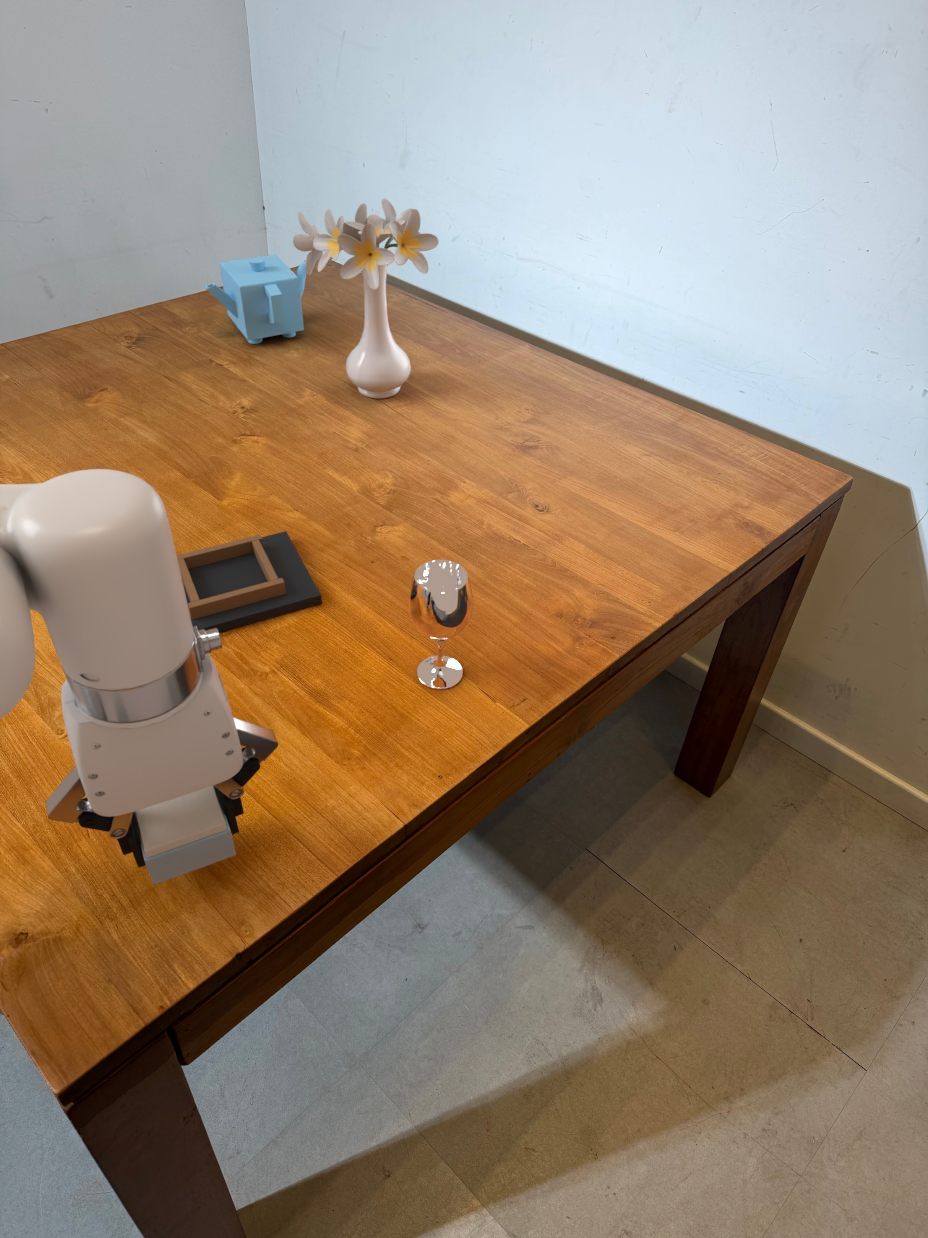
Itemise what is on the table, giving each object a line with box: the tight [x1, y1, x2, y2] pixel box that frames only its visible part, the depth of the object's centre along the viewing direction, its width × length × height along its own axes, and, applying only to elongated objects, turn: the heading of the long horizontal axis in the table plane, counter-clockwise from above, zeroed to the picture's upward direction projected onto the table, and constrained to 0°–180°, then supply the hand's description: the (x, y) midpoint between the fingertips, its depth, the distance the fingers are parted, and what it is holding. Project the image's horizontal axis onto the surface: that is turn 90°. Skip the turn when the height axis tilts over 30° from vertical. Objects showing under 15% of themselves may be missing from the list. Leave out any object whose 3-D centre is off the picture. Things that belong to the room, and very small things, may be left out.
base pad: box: [176, 530, 323, 634], centre depth 87 cm, size 16×12×3 cm
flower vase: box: [292, 197, 440, 400], centre depth 112 cm, size 13×18×25 cm
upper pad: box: [134, 785, 237, 886], centre depth 61 cm, size 6×6×4 cm
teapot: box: [204, 254, 308, 345], centre depth 130 cm, size 16×18×11 cm
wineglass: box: [407, 559, 474, 690], centre depth 76 cm, size 6×6×12 cm
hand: (185, 833), depth 62 cm, fingers closed on upper pad, 6 cm apart
